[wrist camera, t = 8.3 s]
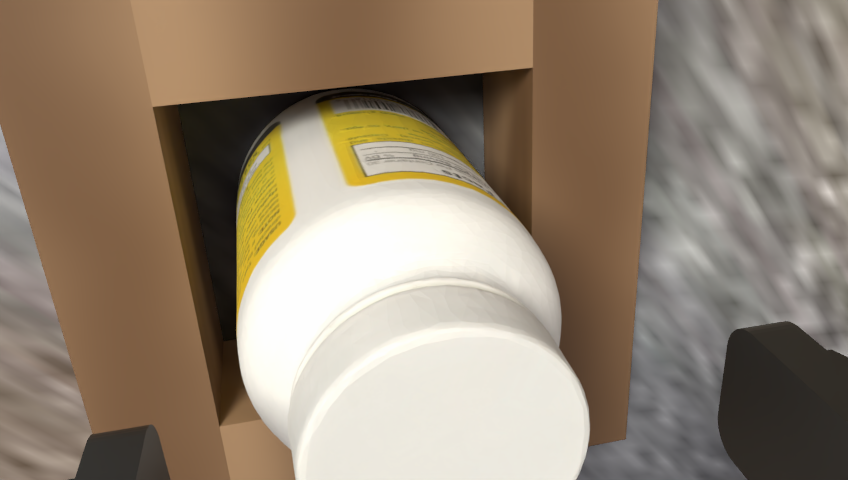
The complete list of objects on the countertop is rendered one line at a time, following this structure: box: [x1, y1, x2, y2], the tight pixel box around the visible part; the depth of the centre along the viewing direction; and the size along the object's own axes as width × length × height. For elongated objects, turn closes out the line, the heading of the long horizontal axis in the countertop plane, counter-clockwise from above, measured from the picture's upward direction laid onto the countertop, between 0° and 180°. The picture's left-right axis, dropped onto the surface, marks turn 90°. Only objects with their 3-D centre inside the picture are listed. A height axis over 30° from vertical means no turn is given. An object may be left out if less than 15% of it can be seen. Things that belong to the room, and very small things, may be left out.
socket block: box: [0, 0, 658, 480], centre depth 17 cm, size 12×12×4 cm
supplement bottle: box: [236, 88, 590, 480], centre depth 14 cm, size 5×5×10 cm
